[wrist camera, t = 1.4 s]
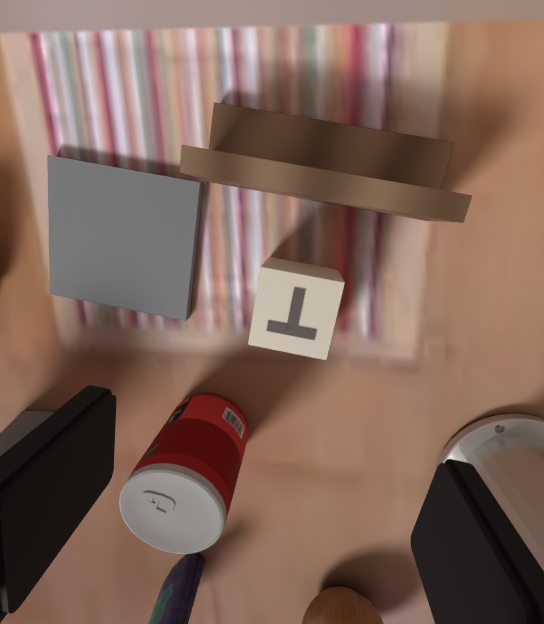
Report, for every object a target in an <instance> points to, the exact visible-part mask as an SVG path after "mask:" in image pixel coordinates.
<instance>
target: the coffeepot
mask: <svg viewBox="0 0 544 624" xmlns="http://www.w3.org/2000/svg"><path fill="white" fill-rule="evenodd" d="M53 413H54V412H52V411H46V410H33V411H23V412H22V413H21V414H20V415H19V416H18V417H17V418H15V419H14V420H13V421H12V422H11V423H10V424H9V425H8V426H7V427H6V428H5V429H4V430H3V431H2V432H1V433H0V456H1V455H2V454H3V453H5V452H6V451H7V450H8V449H10V448H11V447H12V446H13V445H15V444H16V443H17V442H18V441H20V440H21V439H22V438H23V437H25V436H26V435H27V434H28V433H30V432H31V431H32V430H33V429H35V428H36V427H37V426H38V425H40V424H41V423H42V422H43V421H44V420H46V419H47V418H48V417H49V416H51V415H52V414H53Z"/></svg>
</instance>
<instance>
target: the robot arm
mask: <svg viewBox="0 0 544 624" xmlns="http://www.w3.org/2000/svg"><path fill="white" fill-rule="evenodd" d="M115 420H116V396H114V395H112V392H111V390H110V389H107V388H102V387H97V386H92V385H89V386H87V387H86V388H84V389H83V390H82V391H81V392H79V393H78V394H77V395H76V396H74V397H73V398H72V399H71V400H69V401H68V402H67V403H66V404H64V405H63V406H62V407H61V408H59V409H58V410H57V411H56V412H54V413H53V414H52V415H51V416H49V417H48V418H47V419H46V420H44V421H43V422H42V423H41V424H40V425H38V426H37V427H36V428H35V429H33V430H32V431H31V432H30V433H28V434H27V435H26V436H25V437H23V438H22V439H21V440H20V441H18V442H17V443H16V444H15V445H13V446H12V447H11V448H10V449H8V450H7V451H6V452H5V453H3V454H2V455H1V456H0V623H1V621H2V620H3V619H4V617H5V616H6V614H7V613H11V614H12V613H14V612H15V611H16V610H17V609H18V608H19V607H20V606H21V604H22V603H23V602H24V600H25V599H26V597H27V596H28V595H29V593H30V592H31V591H32V589H33V588H34V586H35V585H36V584H37V582H38V581H39V579H40V578H41V577H42V575H43V574H44V572H45V571H46V570H47V568H48V567H49V566H50V564H51V563H52V561H53V560H54V559H55V557H56V556H57V554H58V553H59V552H60V550H61V549H62V547H63V546H64V545H65V543H66V542H67V541H68V539H69V538H70V536H71V535H72V534H73V532H74V531H75V529H76V528H77V527H78V525H79V524H80V522H81V521H82V520H83V518H84V517H85V516H86V514H87V513H88V511H89V510H90V509H91V507H92V506H93V504H94V503H95V502H96V500H97V499H98V497H99V496H100V495H101V493H102V492H103V490H104V489H105V488H106V486H107V485H108V483H109V482H110V480H111V477H112V474H113V469H114V445H115ZM411 548H412V552H413V555H414V558H415V561H416V564H417V568H418V571H419V574H420V577H421V580H422V583H423V587H424V590H425V593H426V596H427V599H428V602H429V605H430V609H431V612H432V615H433V618H434V621H435V624H544V419H542V418H540V417H536V416H531V415H526V414H503V415H495V416H492V417H488V418H485V419H482V420H479V421H477V422H475V423H473V424H471V425H469V426H467V427H466V428H464V429H463V430H461V431H460V432H459V433H458V434H457V435H456V436H454V437H453V438H452V439H451V440H450V442H449V443H448V444H447V446H446V447H445V449H444V450H443V452H442V454H441V457H440V459H439V463H438V467H437V470H436V472H435V475H434V477H433V480H432V483H431V485H430V488H429V490H428V493H427V495H426V498H425V501H424V503H423V506H422V508H421V511H420V513H419V516H418V519H417V521H416V524H415V526H414V529H413V531H412V534H411Z"/></svg>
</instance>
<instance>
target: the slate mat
mask: <svg viewBox="0 0 544 624" xmlns="http://www.w3.org/2000/svg"><path fill="white" fill-rule="evenodd" d="M203 184H204V183H201V182H195V181H190V180H184V179H179V178H173V177H167V176H162V175H156V174H151V173H145V172H140V171H134V170H128V169H123V168H117V167H112V166H106V165H101V164H95V163H89V162H84V161H78V160H73V159H67V158H61V157H56V156H50V155H48V205H49V257H50V294H54V295H59V296H64V297H69V298H74V299H79V300H84V301H89V302H94V303H99V304H104V305H109V306H114V307H119V308H124V309H129V310H134V311H139V312H144V313H149V314H154V315H159V316H164V317H169V318H174V319H179V320H184V321H186V320H187V319H188V318H189V316H190V306H191V297H192V287H193V278H194V269H195V259H196V250H197V241H198V231H199V222H200V212H201V203H202V194H203Z"/></svg>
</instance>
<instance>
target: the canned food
mask: <svg viewBox="0 0 544 624" xmlns="http://www.w3.org/2000/svg"><path fill="white" fill-rule="evenodd" d="M247 438H248V428H247V424H246V420H245V417H244V415H243V414H242V412H241V411H240V409H239V408H238V407H237V406H236V405H235V404H234V403H233V402H231V401H230V400H228V399H226V398H224V397H222V396H220V395H216V394H209V393H203V394H197V395H194V396H191V397H189V398H188V399H186V400H184V401H182V402H181V403H180V404H179V405H178V406H177V407H176V409H175V410H174V412H173V413H172V415H171V416H170V417H169V419H168V420H167V422H166V423H165V425H164V426H163V428H162V429H161V431H160V432H159V433H158V435H157V436H156V438H155V439H154V441H153V442H152V444H151V445H150V447H149V448H148V449H147V451H146V452H145V454H144V455H143V457H142V458H141V460H140V461H139V462H138V464H137V465H136V467H135V468H134V470H133V471H132V473H131V475H130V476H129V478H128V479H127V481H126V482H125V485H124V487H123V488H122V491H121V494H120V497H119V507H120V512H121V515H122V517H123V519H124V521H125V523H126V524H127V526H128V527H129V529H130V530H131V531H132V532H133V533H134V534H135V535H136V536H137V537H139V538H140V539H141V540H142V541H144V542H145V543H147V544H149V545H151V546H152V547H155V548H157V549H160V550H162V551H166V552H170V553H177V554H190V553H195V552H200V551H202V550H204V549H207V548H208V547H210V546H211V545H213V544H214V543H215V542H216V541H217V539H218V538H219V537H220V535H221V533H222V530H223V527H224V525H225V523H226V519H227V515H228V512H229V509H230V505H231V501H232V497H233V493H234V489H235V486H236V482H237V478H238V474H239V470H240V466H241V462H242V458H243V455H244V451H245V447H246V443H247Z"/></svg>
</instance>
